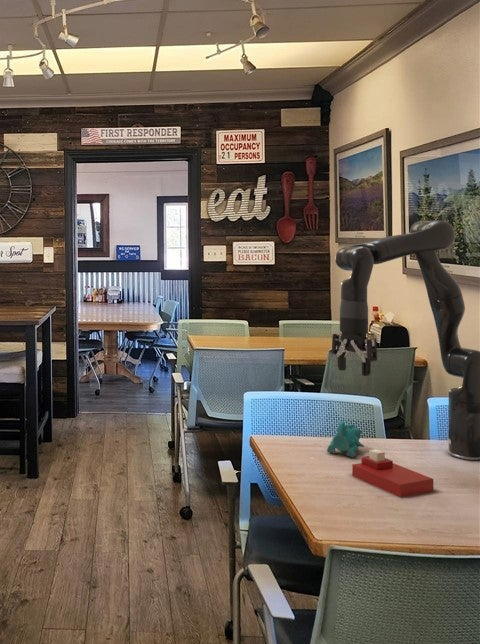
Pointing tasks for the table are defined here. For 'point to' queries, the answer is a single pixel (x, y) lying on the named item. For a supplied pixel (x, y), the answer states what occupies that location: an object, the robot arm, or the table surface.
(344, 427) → the toy
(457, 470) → the table surface
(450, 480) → the table surface
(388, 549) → the table surface
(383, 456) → the white cube
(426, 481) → the red push button box
